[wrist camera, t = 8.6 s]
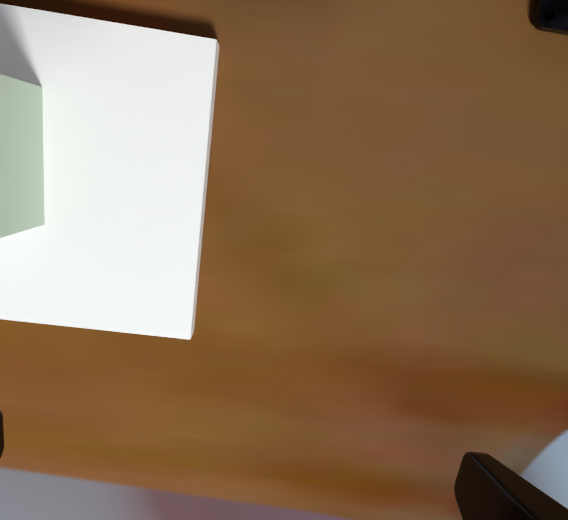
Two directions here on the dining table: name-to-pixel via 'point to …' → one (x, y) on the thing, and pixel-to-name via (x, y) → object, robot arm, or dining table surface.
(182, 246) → the shelf
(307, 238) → the dining table surface
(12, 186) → the carton
